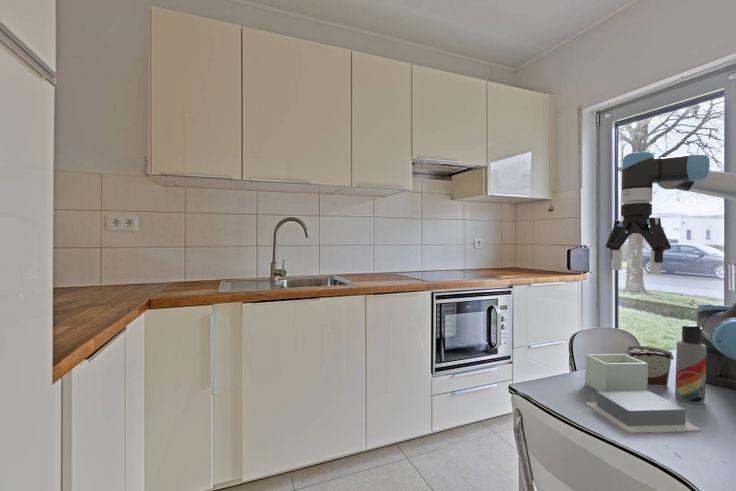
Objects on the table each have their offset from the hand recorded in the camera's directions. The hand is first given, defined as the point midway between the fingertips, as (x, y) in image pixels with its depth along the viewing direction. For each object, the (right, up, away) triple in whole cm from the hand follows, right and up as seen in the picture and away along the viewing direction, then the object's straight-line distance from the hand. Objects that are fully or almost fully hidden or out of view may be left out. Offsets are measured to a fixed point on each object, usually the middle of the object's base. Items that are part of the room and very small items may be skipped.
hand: (634, 271), depth 104 cm
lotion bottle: (+3, -33, -15) cm, 36 cm away
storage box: (-14, -33, -10) cm, 37 cm away
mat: (-18, -33, -24) cm, 44 cm away
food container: (0, -33, -3) cm, 33 cm away
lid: (-18, -32, -24) cm, 44 cm away
